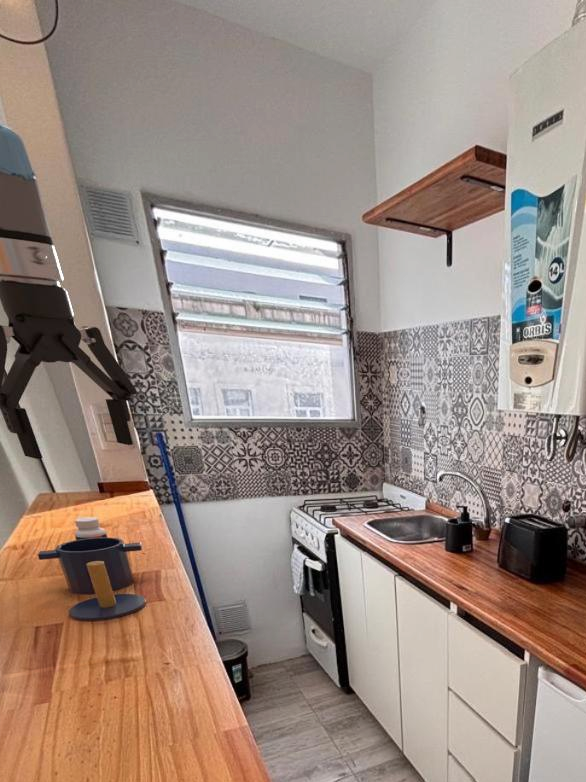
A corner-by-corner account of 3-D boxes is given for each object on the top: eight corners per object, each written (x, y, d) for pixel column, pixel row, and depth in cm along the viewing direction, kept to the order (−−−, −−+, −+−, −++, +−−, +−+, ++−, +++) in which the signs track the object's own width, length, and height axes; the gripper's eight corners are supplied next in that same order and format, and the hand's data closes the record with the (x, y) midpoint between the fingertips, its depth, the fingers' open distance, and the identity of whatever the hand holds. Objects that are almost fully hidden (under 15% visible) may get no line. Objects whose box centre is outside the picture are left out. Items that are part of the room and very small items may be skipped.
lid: (75, 605, 91) (59, 557, 87) (147, 596, 96) (135, 550, 92) (65, 628, 82) (47, 577, 78) (146, 617, 87) (132, 568, 83)
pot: (57, 584, 99) (42, 541, 96) (151, 574, 106) (140, 534, 103) (48, 602, 91) (31, 556, 88) (150, 590, 98) (138, 546, 95)
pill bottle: (100, 568, 109) (86, 522, 104) (78, 566, 109) (63, 521, 105) (120, 561, 113) (108, 517, 109) (98, 559, 114) (85, 515, 110)
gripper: (-74, 271, 57) (4, 468, 68) (138, 292, 77) (172, 442, 88) (-111, 268, 59) (-30, 459, 70) (105, 289, 79) (141, 435, 90)
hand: (82, 450), depth 79 cm, fingers open, 13 cm apart
